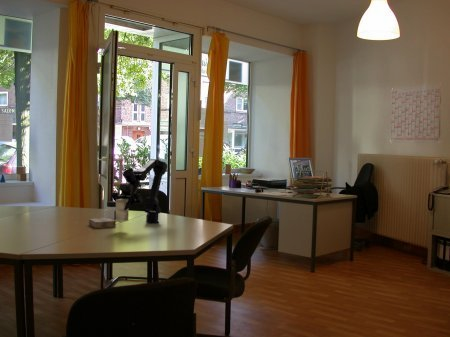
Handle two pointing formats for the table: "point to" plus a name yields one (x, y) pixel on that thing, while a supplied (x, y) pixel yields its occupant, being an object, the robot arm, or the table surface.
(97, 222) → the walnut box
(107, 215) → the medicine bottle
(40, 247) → the table surface
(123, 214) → the birch block
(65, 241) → the table surface
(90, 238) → the table surface
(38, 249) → the table surface
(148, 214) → the robot arm
